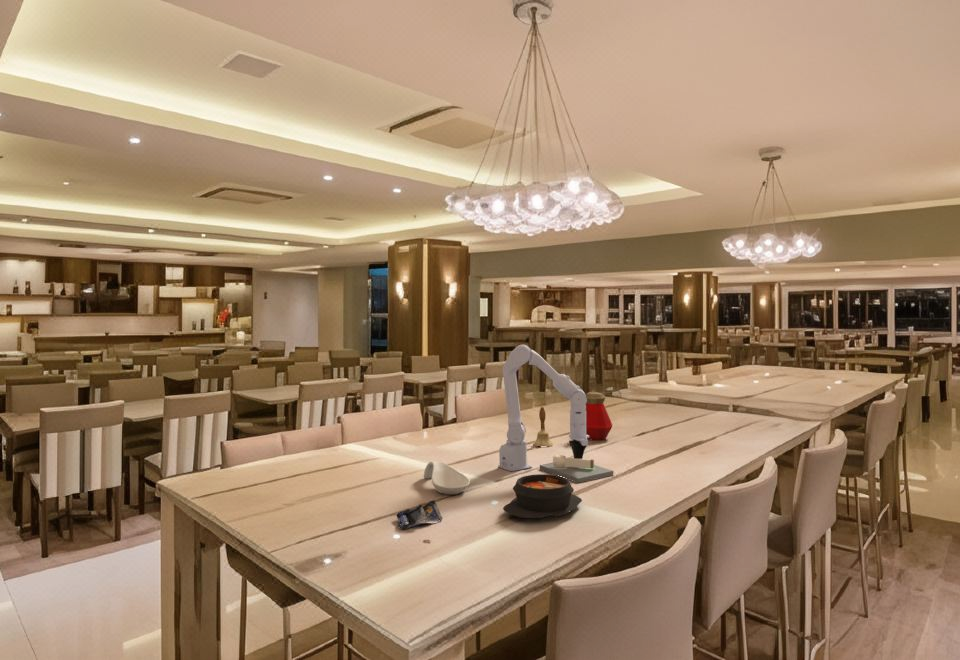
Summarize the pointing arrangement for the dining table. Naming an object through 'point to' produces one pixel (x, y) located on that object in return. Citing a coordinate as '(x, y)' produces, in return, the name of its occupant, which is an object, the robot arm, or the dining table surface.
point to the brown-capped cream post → (572, 462)
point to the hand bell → (542, 432)
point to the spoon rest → (446, 478)
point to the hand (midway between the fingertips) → (578, 461)
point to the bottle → (597, 417)
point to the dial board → (578, 472)
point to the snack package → (419, 515)
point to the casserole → (542, 497)
